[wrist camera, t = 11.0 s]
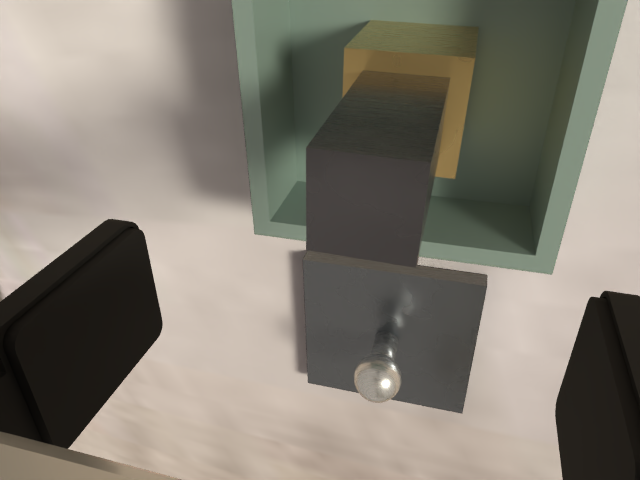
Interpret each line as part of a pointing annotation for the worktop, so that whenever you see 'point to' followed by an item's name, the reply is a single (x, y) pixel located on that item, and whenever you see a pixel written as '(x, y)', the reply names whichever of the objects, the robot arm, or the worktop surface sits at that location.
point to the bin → (480, 122)
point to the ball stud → (391, 329)
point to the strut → (388, 140)
